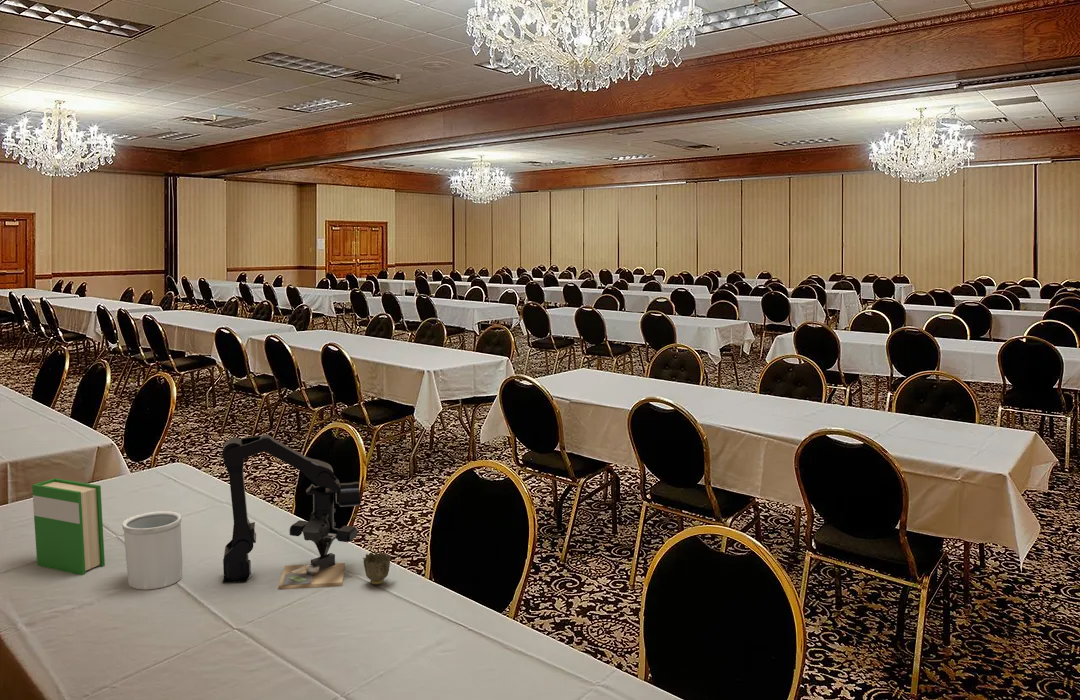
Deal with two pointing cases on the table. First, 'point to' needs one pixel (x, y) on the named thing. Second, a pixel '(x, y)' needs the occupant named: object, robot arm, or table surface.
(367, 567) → the cup
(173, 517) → the utensil holder
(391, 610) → the table surface
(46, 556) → the hardback book
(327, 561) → the peg knob
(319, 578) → the tuner board
